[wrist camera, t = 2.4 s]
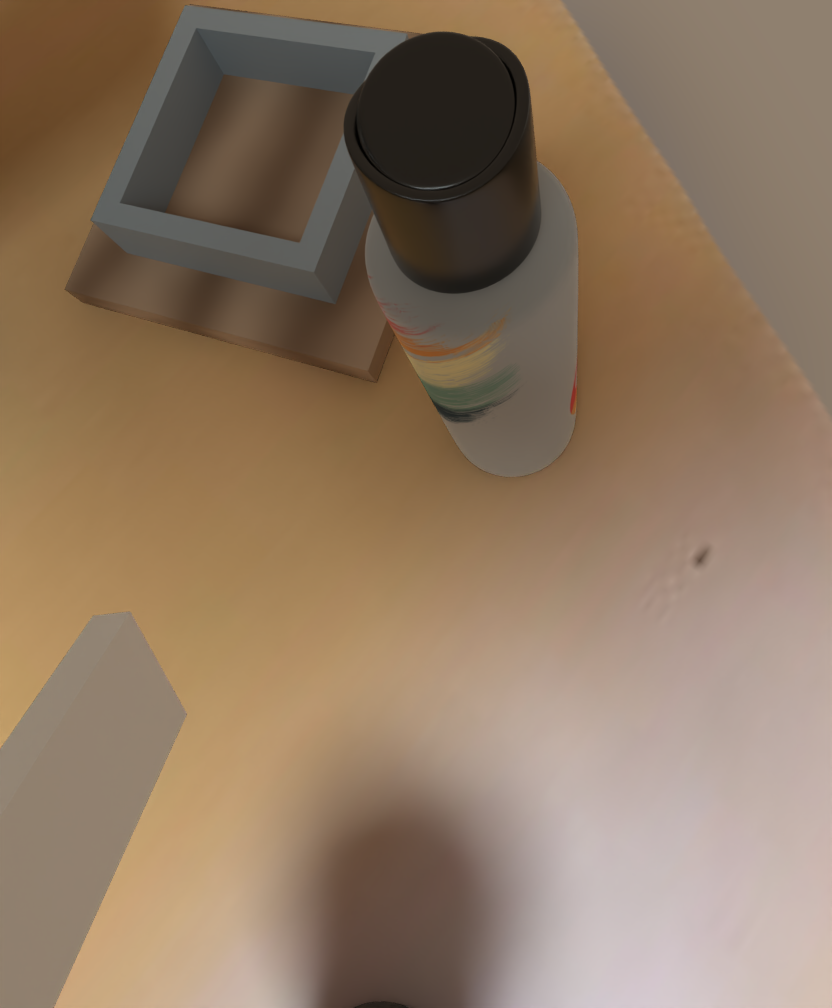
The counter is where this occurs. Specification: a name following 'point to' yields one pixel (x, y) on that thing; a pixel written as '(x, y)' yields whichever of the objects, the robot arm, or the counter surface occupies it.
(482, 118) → the lotion bottle
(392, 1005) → the coffee cup
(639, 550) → the counter surface
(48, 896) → the robot arm
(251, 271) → the bottle collar
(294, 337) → the stand board
